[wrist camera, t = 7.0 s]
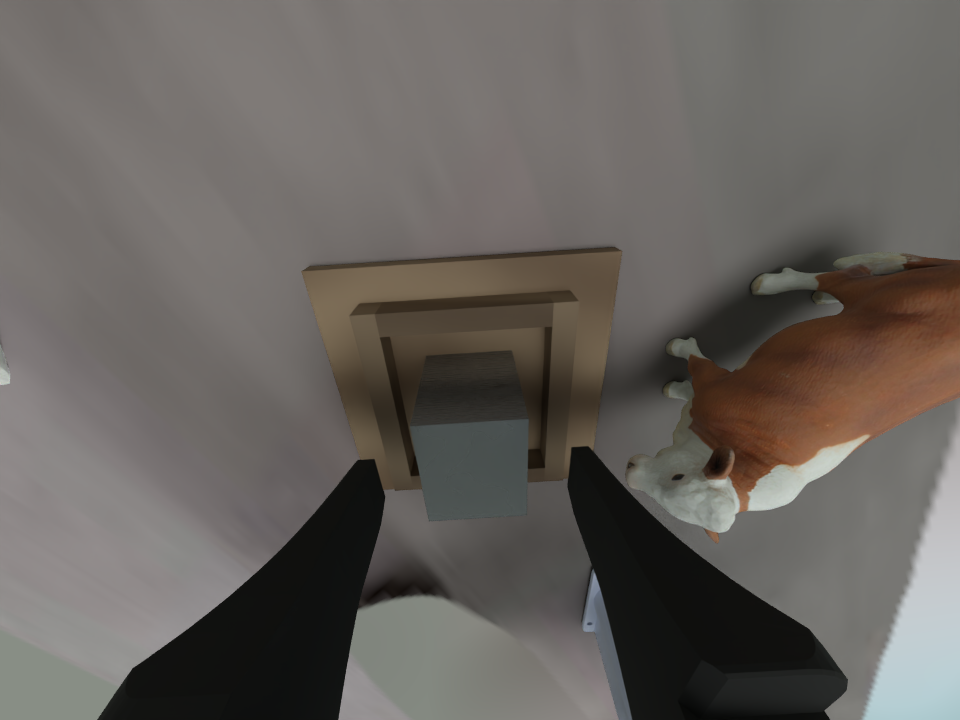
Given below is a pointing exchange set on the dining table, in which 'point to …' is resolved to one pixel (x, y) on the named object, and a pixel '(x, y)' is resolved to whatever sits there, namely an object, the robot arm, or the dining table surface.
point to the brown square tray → (469, 343)
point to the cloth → (4, 369)
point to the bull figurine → (808, 388)
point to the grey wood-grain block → (471, 436)
